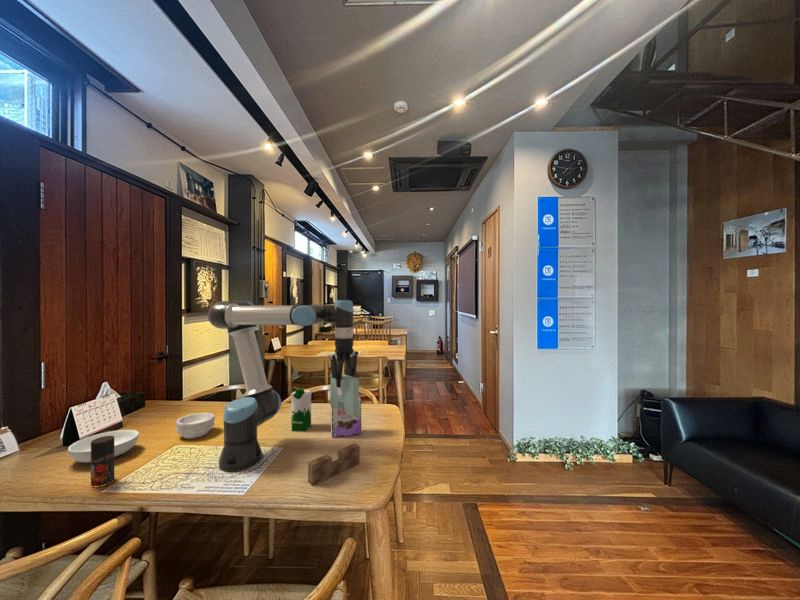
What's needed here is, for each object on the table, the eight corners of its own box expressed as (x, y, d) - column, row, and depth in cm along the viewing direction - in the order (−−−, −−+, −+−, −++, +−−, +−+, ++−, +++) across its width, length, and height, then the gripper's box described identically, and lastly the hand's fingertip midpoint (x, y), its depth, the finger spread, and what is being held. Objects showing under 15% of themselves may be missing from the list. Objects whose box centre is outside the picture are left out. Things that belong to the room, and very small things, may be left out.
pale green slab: (352, 415, 121) (352, 379, 121) (330, 405, 133) (330, 373, 133) (359, 413, 124) (359, 378, 124) (336, 404, 135) (336, 372, 135)
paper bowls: (221, 431, 150) (221, 415, 150) (187, 444, 136) (187, 426, 136) (202, 425, 157) (202, 410, 157) (169, 437, 143) (169, 420, 143)
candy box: (331, 438, 142) (331, 402, 142) (331, 432, 147) (330, 398, 148) (361, 434, 145) (361, 399, 146) (359, 429, 151) (359, 395, 151)
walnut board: (312, 485, 105) (312, 465, 105) (308, 482, 107) (308, 461, 107) (359, 463, 119) (359, 445, 119) (355, 461, 121) (355, 443, 121)
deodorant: (119, 477, 111) (119, 435, 111) (103, 487, 105) (103, 443, 105) (102, 477, 111) (101, 435, 111) (85, 487, 105) (85, 443, 105)
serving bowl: (147, 451, 130) (147, 435, 130) (78, 476, 112) (77, 457, 112) (127, 440, 141) (127, 425, 141) (60, 461, 122) (60, 443, 123)
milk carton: (289, 431, 149) (288, 390, 149) (297, 424, 158) (296, 385, 158) (306, 432, 148) (306, 390, 148) (313, 424, 157) (313, 385, 157)
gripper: (332, 339, 120) (332, 400, 120) (365, 336, 131) (365, 391, 131) (322, 338, 125) (322, 396, 125) (354, 335, 137) (354, 388, 137)
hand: (344, 393), depth 128 cm, fingers closed on pale green slab, 3 cm apart
